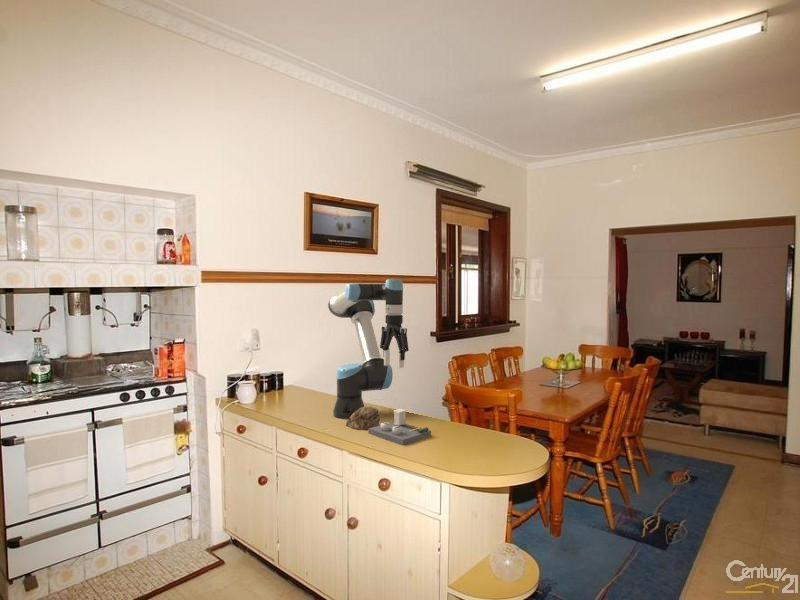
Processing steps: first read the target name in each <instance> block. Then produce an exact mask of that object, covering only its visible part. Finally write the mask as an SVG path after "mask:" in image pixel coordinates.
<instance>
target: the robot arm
mask: <svg viewBox="0 0 800 600" xmlns="http://www.w3.org/2000/svg"><path fill="white" fill-rule="evenodd" d="M403 296H404V282H403V280H402V279H398V278H397V279H396V278H392V279H391V278H390V279H389V278H388V279H386V280H385V283H355V282H354V283H347V284H346V285H345V289H344V291H343V292H341V293H340V294H336V295H334V296H332V297H331V298H330V299H329V301H328V304H327V306H328V308H327V309H328V310H329V312H330V313H331V314H332V315H334V316H335V317H338V318H342V319H345V318H349V319H350V322H351V323H352V324H354V326H355V330H356V334H357V335H356V336H357V338H358V342H359V343H358V344H359V347H360V351H361V354H362V355H361V356H362V360H363V363H348V364H343V365H340V366H339V367H338V368H337V370H336V401H335V404H334V406H333V410H332V416H333V417H335V418H338V419H343V420H344V419H345V420H348V419H349V418H350V417H351V415H352V414H353V413H354V412H355V411H357V410H358V409H359V408H361V407H363V406H365V402H364V400H363V396H362V394H363V392H370V391H382V390H387V389H389V388H390V387H391V385H392V383H393V374H394V373H393V367H392V366H391V365H390V364H391V358H390V357H391V353H390V352H391V350H390V345H391V344H392V343H391V342H392V339H393V338H394V339H395V340H396V345H397V348H398V350H399V351H398V352H397V359H398V362H397V368H398V369H402V368H405V367H404V366H405V359H406V355H405V354H406V353H407V352H409V350H410V349H409V342H408V335H407V332H408V329H407V328H403V327H402V324H403V322H404V319H403V318H404V316H403V313H404V311H403V310H404V308H403V307H404V305H403V304H404V303H403V302H404V301H403V298H404V297H403ZM374 301H385V314H386V315H385V316H384V317H385V318H384V319H385V324H386V326H382V327H381V335H380V336H381V337H380V344H379V346H378V341H377V338H376V333H375V331H374V326H373V323H372V319H373V318H374V316H375V312H376V309H375V307H376V306H375V302H374ZM379 348H380V349H382V350H383V358H382V357H381V353H380V350H379Z"/></svg>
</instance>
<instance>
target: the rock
mask: <svg viewBox="0 0 800 600" xmlns="http://www.w3.org/2000/svg"><path fill="white" fill-rule="evenodd" d="M379 413H380V412H379V409H378V408H376V407H373V406H365V405H364V406H363V407H361V408H359V409H358V410H357V411H355V412H354V413H353V414H352V415H351V417H350V418H349V419H347V420H346V423H345V427H349V428H351V429H355V430H358V431H359V430H360V431H363V430H368V428H372V427H376V426H379V424H380V421H381V420H380V419H381V416H380V414H379Z"/></svg>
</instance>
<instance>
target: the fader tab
mask: <svg viewBox="0 0 800 600" xmlns="http://www.w3.org/2000/svg"><path fill="white" fill-rule="evenodd" d="M406 412H407V410H406V409H402V408H398V409H394V410H393V416H394V419H393V420H394V421H393V422H394V424H395V425H399V426H400V425H403V424H406Z"/></svg>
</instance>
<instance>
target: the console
mask: <svg viewBox="0 0 800 600" xmlns="http://www.w3.org/2000/svg"><path fill="white" fill-rule="evenodd" d="M367 430H368V431H367V433H368V434H369V435H372V436H375V437H378V438H380V439H384V440H386V441H389V442H393V443H395V444H398V445H402V446H404V445H407V444H411V443H413V442H416V441H420V440H423V439H426V438H430V437H432V431H431V430H429V427H428V426H427V427H418V426H415V425H412V424H408V423H405V424H403V425H400V426H399V425H395V424H394V421H391V422H384V421H383V422H381V423H380V425H378V426H376V427H372V428H368V429H367Z"/></svg>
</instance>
